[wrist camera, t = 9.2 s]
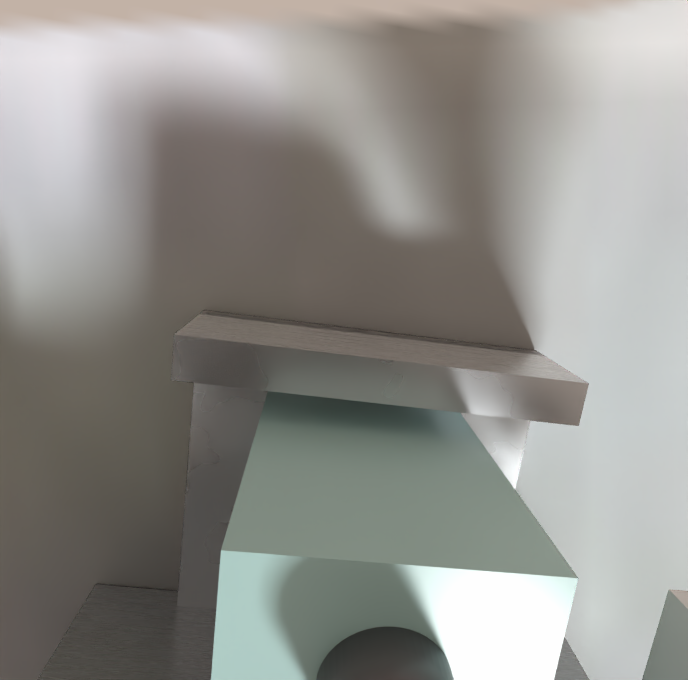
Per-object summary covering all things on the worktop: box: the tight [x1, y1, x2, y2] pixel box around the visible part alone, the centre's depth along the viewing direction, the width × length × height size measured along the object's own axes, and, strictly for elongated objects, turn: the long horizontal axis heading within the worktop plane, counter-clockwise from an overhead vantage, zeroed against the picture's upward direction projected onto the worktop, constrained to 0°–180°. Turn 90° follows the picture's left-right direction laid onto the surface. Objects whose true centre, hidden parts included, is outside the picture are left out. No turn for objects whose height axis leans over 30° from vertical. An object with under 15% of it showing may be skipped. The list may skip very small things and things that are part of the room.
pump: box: [211, 391, 578, 680], centre depth 11 cm, size 5×6×8 cm
